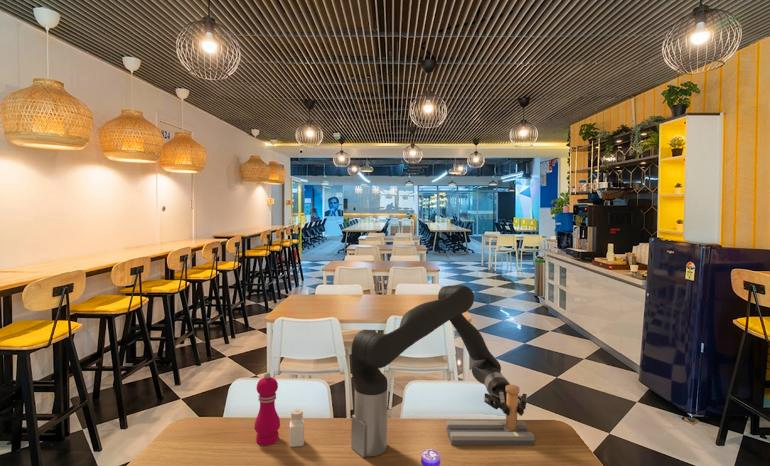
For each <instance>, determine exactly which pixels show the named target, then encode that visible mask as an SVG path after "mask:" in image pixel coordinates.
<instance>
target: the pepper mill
mask: <svg viewBox="0 0 770 466" xmlns="http://www.w3.org/2000/svg"><path fill="white" fill-rule="evenodd" d="M278 389H279V383H278V381H277V379H275V377H272V376H271V373H270V372H265V373H264V375H263V377H262V378H260V379H259V380H258V381H257V384H256V392H257V393H258V395H257V397H258V399H257V400H258V402H259V410H258V413H257V416H256V418H255V421H254V431H255V432H256V436H255V438H256V439H255V440H256V443H257V444H258V445H261V446H270V445H273V444H275V443H276V442H278V441H279V431H278V430H279V429H280V427H281V420H280V416H279V414H278V412H277V410H276V406H275V405H276V404H275V402H276V399H277V393H276V392H277V391H278Z"/></svg>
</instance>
